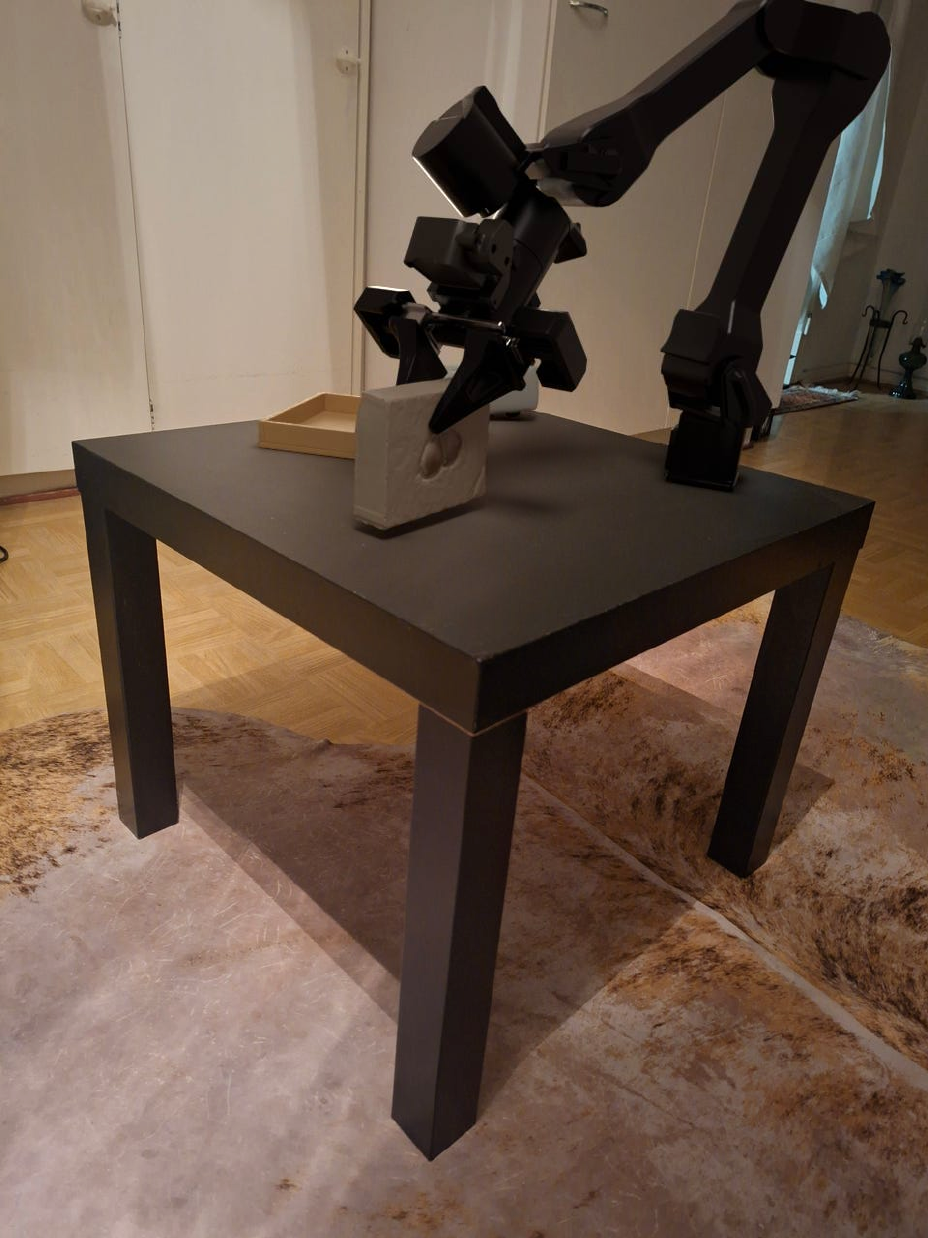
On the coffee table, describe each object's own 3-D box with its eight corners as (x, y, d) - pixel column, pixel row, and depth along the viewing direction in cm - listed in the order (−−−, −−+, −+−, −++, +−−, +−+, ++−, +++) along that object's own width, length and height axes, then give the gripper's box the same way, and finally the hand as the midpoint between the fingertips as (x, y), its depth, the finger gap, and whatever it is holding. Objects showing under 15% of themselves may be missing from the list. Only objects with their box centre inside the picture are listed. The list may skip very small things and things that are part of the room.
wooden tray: (482, 433, 95) (484, 410, 94) (449, 471, 79) (450, 444, 78) (321, 414, 98) (321, 391, 97) (258, 447, 82) (257, 420, 81)
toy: (412, 434, 98) (542, 428, 97) (408, 378, 95) (541, 372, 94) (420, 413, 109) (536, 408, 108) (417, 362, 106) (536, 357, 105)
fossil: (386, 532, 60) (390, 399, 56) (351, 519, 62) (352, 389, 58) (487, 496, 69) (497, 378, 65) (454, 486, 71) (461, 370, 66)
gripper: (371, 170, 63) (263, 333, 60) (588, 178, 53) (474, 373, 50) (432, 281, 72) (342, 427, 69) (626, 305, 63) (532, 476, 59)
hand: (412, 425), depth 62 cm, fingers closed on fossil, 3 cm apart
